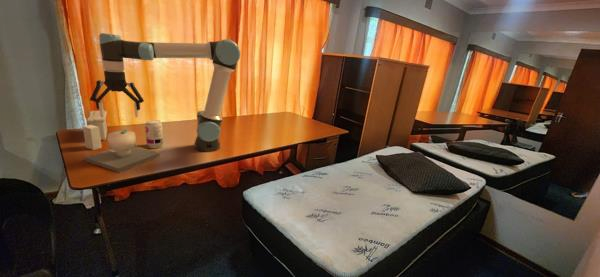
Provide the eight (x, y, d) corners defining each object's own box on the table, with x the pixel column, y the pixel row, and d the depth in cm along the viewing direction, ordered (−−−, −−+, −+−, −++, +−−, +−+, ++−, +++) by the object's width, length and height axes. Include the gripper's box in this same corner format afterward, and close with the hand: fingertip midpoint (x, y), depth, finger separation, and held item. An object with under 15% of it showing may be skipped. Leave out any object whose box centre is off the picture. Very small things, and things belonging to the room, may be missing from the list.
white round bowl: (130, 150, 115) (128, 136, 113) (103, 149, 113) (101, 135, 110) (140, 142, 125) (138, 129, 123) (116, 141, 123) (114, 128, 120)
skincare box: (102, 147, 129) (99, 126, 125) (93, 150, 125) (90, 128, 121) (94, 145, 131) (91, 124, 127) (85, 147, 127) (82, 126, 123)
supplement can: (146, 149, 135) (144, 123, 130) (147, 143, 141) (145, 119, 137) (162, 148, 138) (161, 123, 134) (163, 143, 145) (161, 119, 140)
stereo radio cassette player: (92, 130, 149) (87, 99, 143) (109, 130, 154) (105, 99, 147) (89, 142, 133) (83, 107, 127) (107, 141, 138) (103, 107, 132)
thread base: (159, 156, 128) (158, 144, 126) (118, 172, 108) (117, 159, 106) (128, 147, 134) (127, 136, 132) (84, 160, 114) (82, 147, 112)
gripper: (148, 72, 115) (151, 114, 122) (82, 67, 106) (90, 113, 112) (145, 74, 109) (149, 118, 116) (75, 68, 99) (83, 117, 106)
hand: (120, 116), depth 114 cm, fingers open, 13 cm apart
